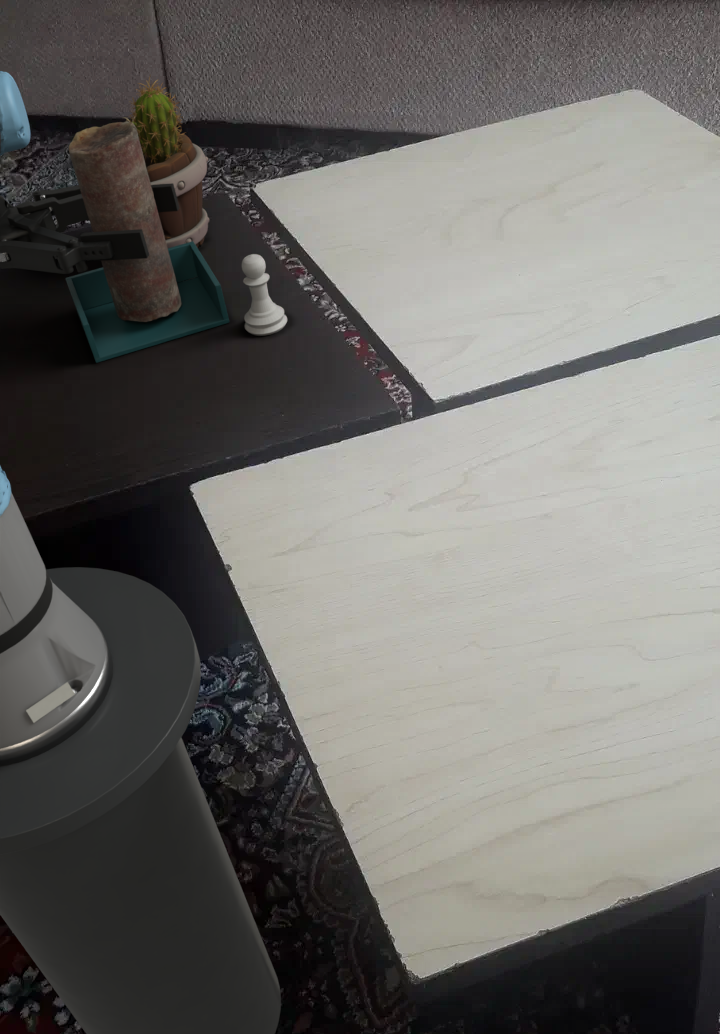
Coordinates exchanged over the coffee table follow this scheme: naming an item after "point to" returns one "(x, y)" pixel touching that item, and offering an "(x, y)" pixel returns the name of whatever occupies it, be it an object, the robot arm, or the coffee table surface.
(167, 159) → the flowerpot
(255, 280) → the chess piece
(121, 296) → the rusty brown cylinder
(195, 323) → the teal tray
